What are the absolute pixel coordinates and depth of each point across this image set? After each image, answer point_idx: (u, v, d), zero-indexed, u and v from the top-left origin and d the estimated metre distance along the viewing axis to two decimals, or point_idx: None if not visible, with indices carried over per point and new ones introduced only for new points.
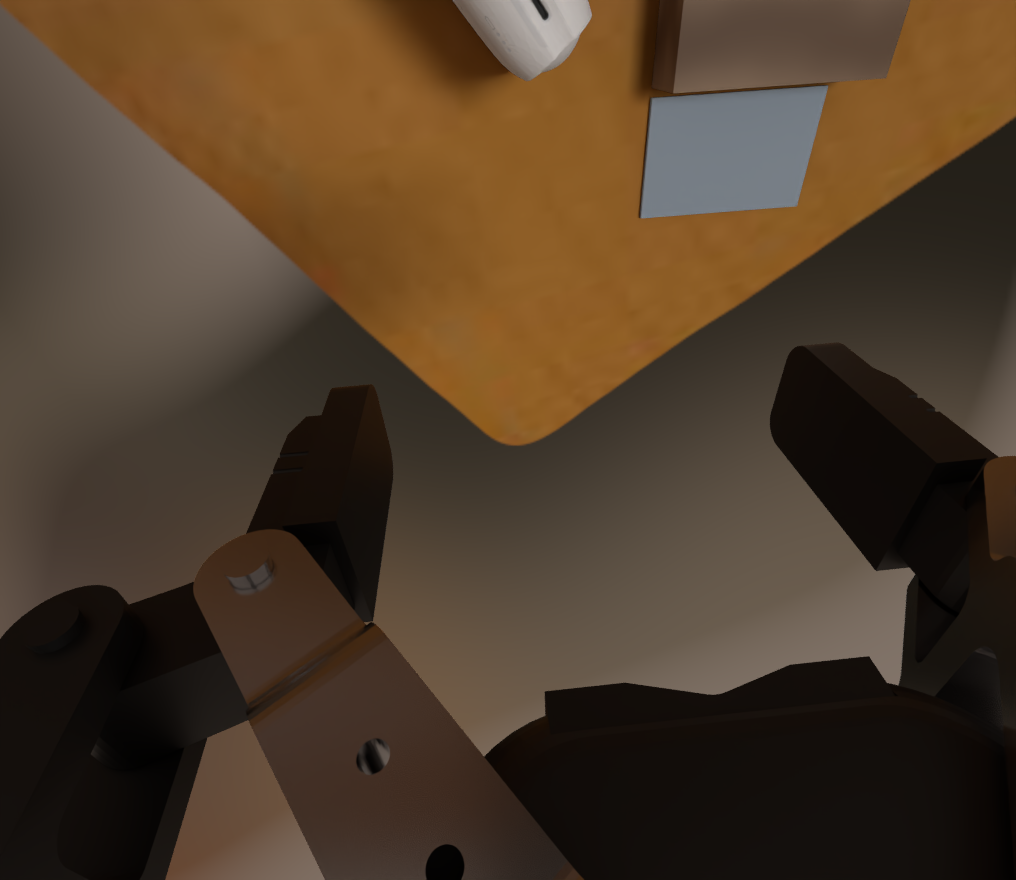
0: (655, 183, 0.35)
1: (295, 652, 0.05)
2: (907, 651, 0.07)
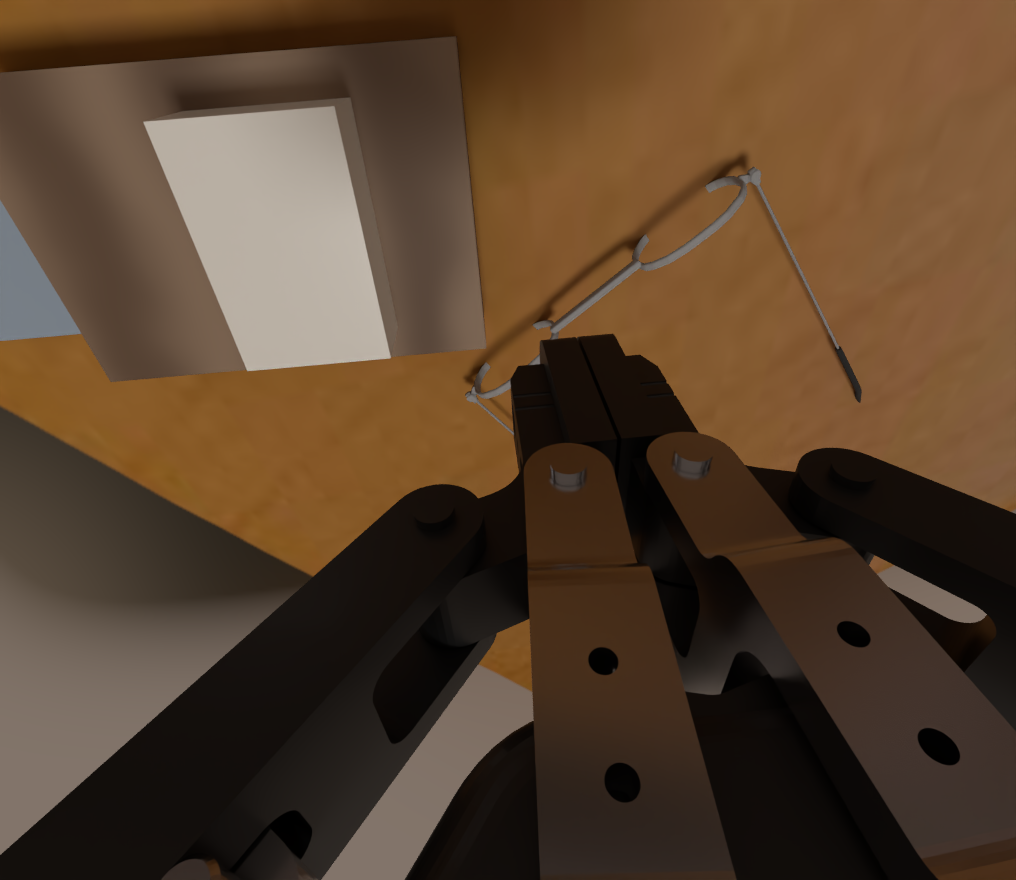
0: None
1: (574, 551, 0.06)
2: None
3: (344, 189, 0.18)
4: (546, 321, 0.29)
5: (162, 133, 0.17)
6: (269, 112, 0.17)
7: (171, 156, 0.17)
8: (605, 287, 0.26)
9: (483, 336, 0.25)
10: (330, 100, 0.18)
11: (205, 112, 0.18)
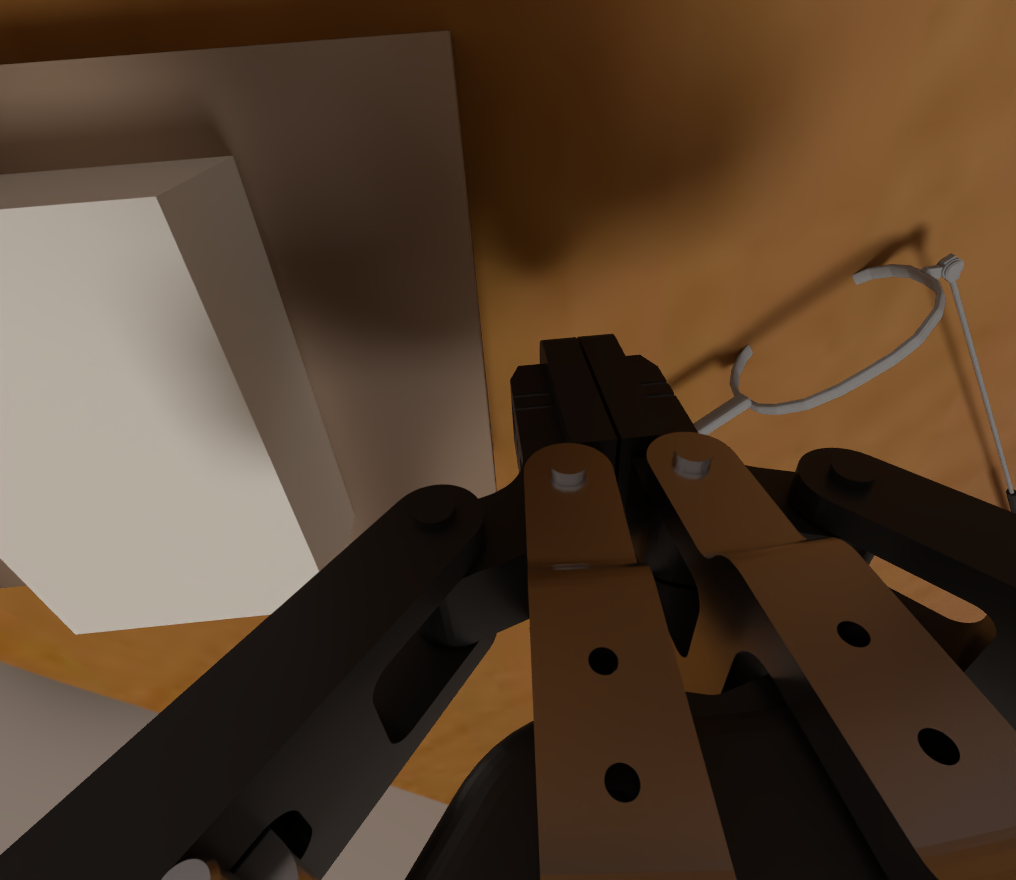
0: None
1: (575, 551, 0.06)
2: None
3: (208, 361, 0.08)
4: None
5: None
6: None
7: None
8: None
9: None
10: (183, 165, 0.09)
11: None
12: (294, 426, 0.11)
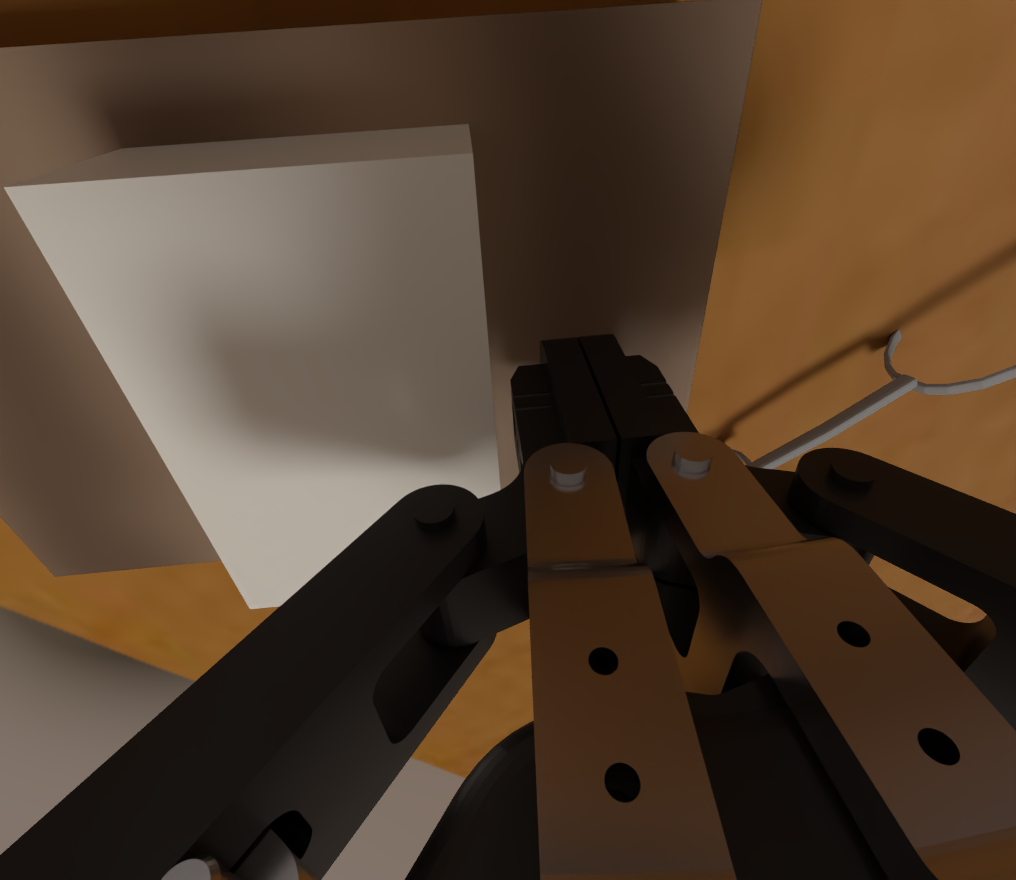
0: None
1: (575, 551, 0.06)
2: None
3: (469, 325, 0.08)
4: None
5: (55, 213, 0.07)
6: (315, 166, 0.07)
7: (81, 263, 0.07)
8: (853, 417, 0.16)
9: None
10: (434, 131, 0.09)
11: (165, 157, 0.08)
12: None
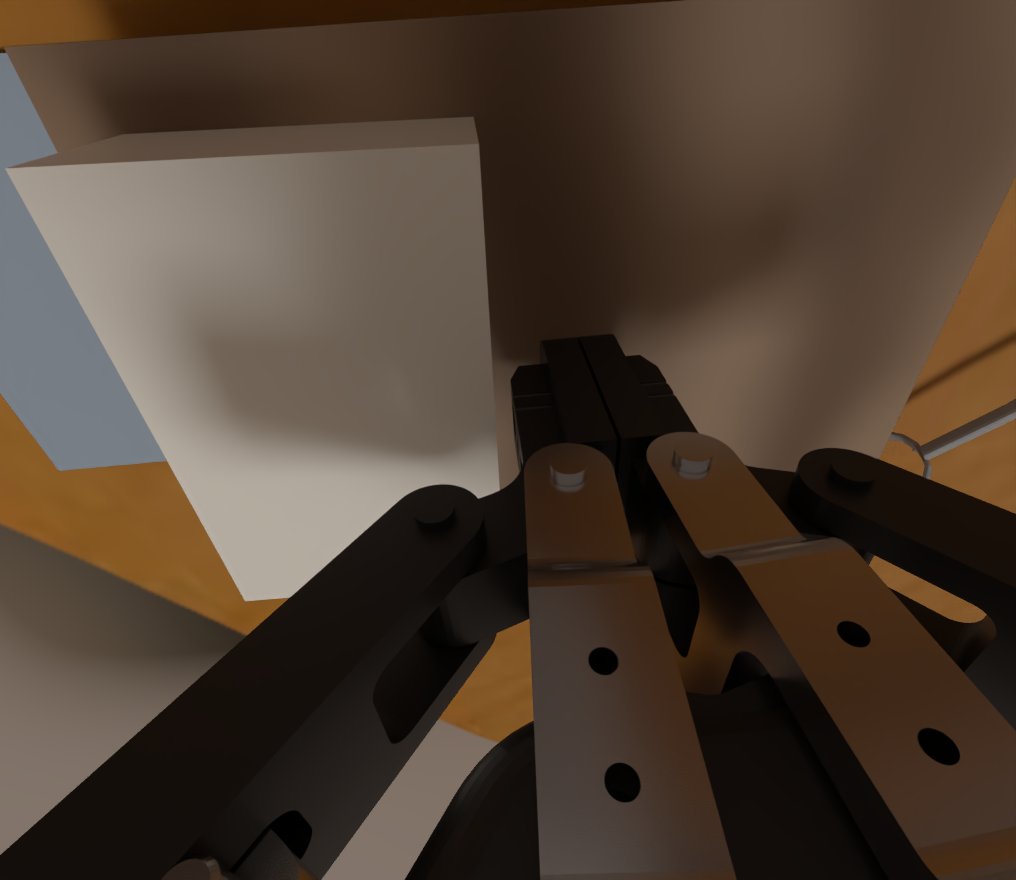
0: None
1: (575, 551, 0.06)
2: None
3: (471, 318, 0.08)
4: None
5: (56, 196, 0.07)
6: (320, 154, 0.07)
7: (82, 247, 0.07)
8: None
9: None
10: (439, 123, 0.09)
11: (168, 143, 0.08)
12: None
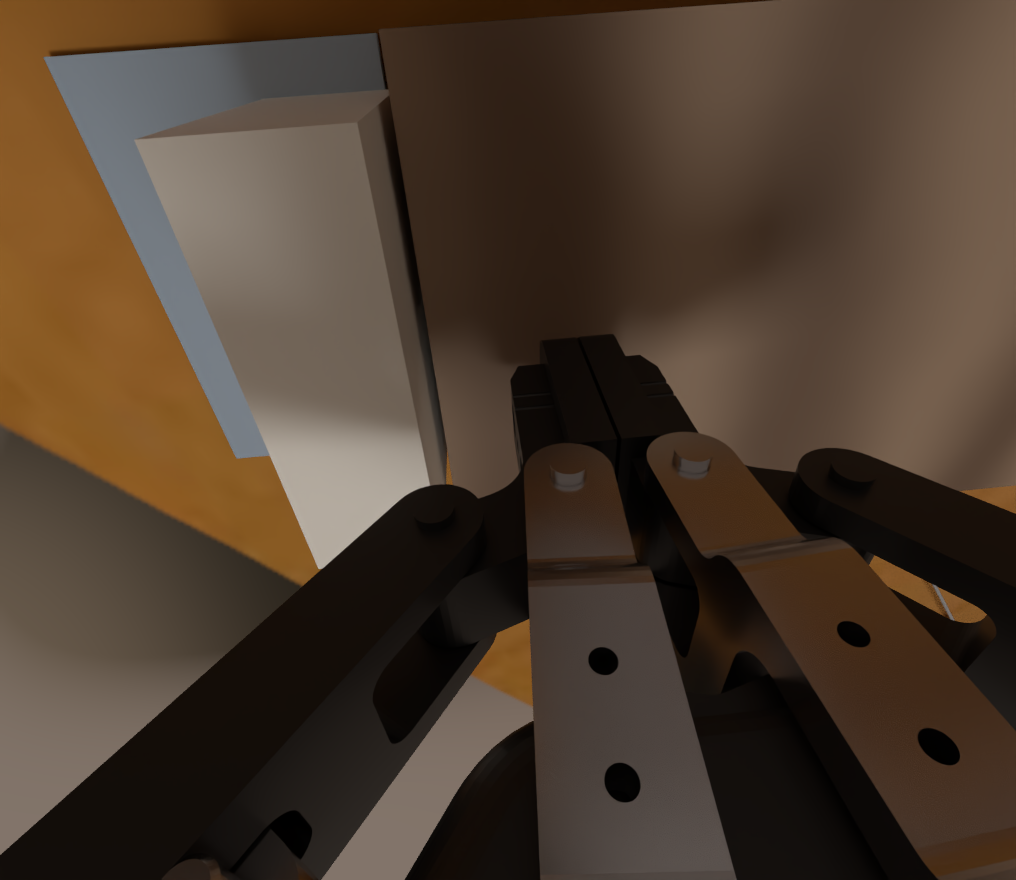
0: (163, 92, 0.12)
1: (574, 551, 0.06)
2: None
3: (212, 301, 0.09)
4: None
5: None
6: (196, 122, 0.09)
7: None
8: None
9: None
10: (315, 120, 0.08)
11: (324, 98, 0.11)
12: (332, 418, 0.10)
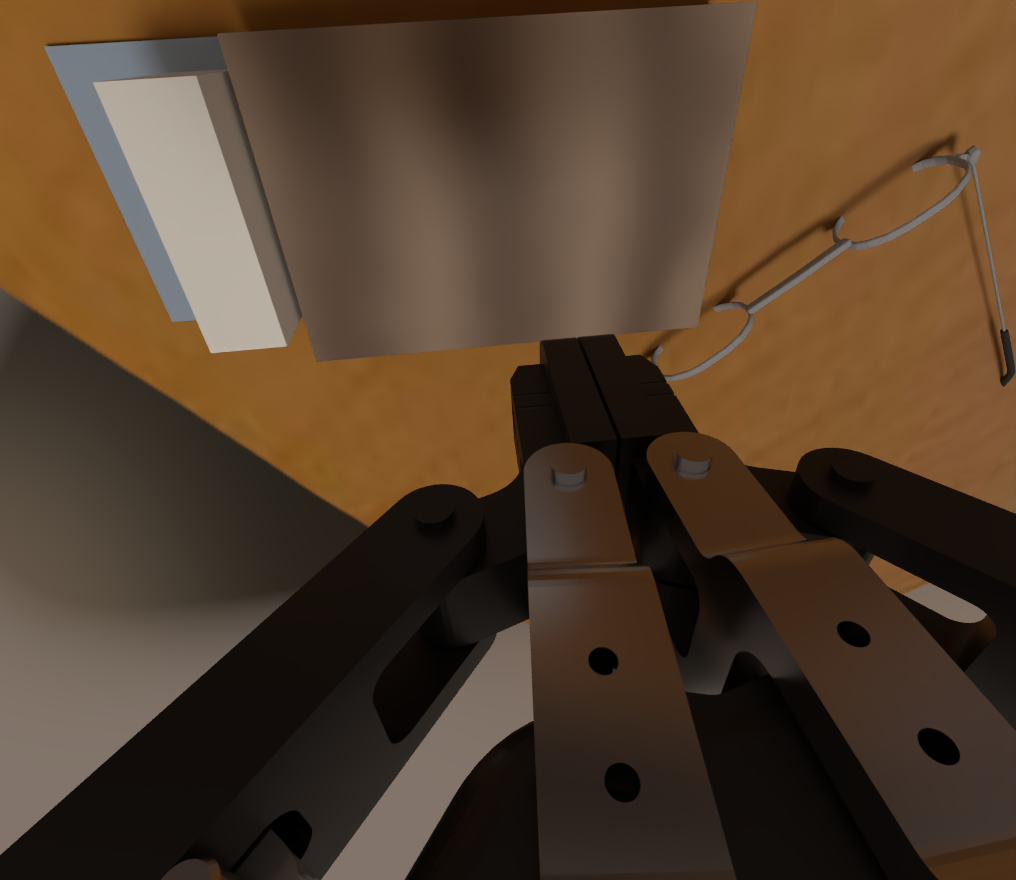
0: (114, 68, 0.20)
1: (574, 551, 0.06)
2: None
3: (135, 170, 0.17)
4: (732, 303, 0.28)
5: None
6: (126, 79, 0.17)
7: None
8: (812, 266, 0.26)
9: (698, 314, 0.25)
10: (179, 76, 0.16)
11: (204, 71, 0.19)
12: (205, 242, 0.19)
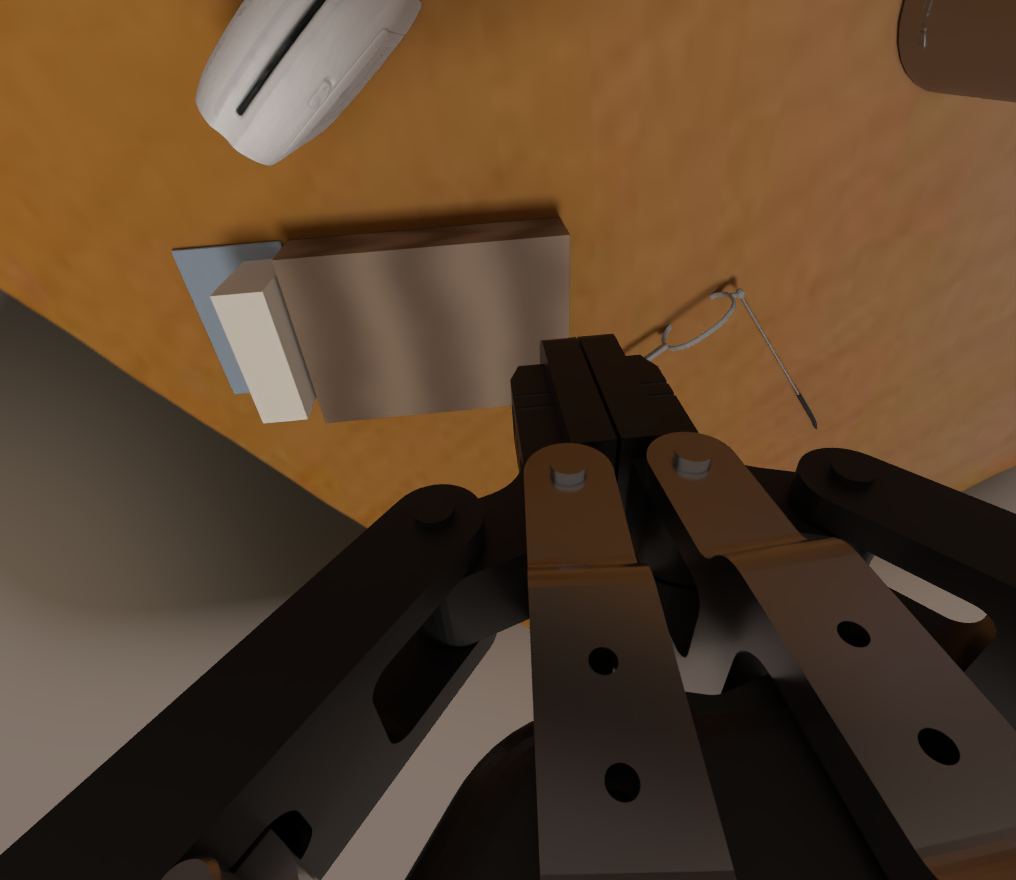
0: (209, 260, 0.35)
1: (575, 551, 0.06)
2: None
3: (227, 332, 0.32)
4: None
5: None
6: (222, 283, 0.32)
7: None
8: None
9: None
10: (253, 288, 0.31)
11: (262, 265, 0.34)
12: (263, 366, 0.33)
